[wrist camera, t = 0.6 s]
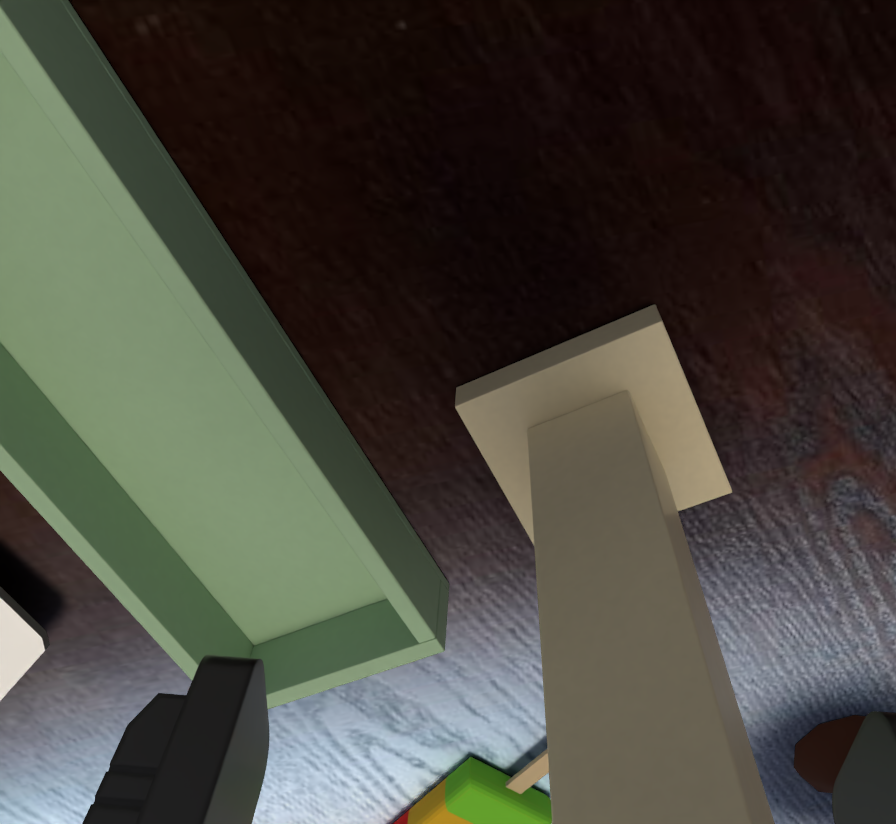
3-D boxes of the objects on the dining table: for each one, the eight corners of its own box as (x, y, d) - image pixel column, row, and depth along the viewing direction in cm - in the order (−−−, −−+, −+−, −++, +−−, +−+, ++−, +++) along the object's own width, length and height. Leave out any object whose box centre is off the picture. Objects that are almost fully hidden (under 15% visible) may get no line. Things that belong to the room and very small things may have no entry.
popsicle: (372, 836, 47) (368, 868, 45) (540, 690, 40) (542, 722, 39) (452, 873, 48) (450, 906, 47) (626, 738, 42) (632, 771, 40)
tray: (-203, 114, 28) (-301, 141, 25) (37, -48, 25) (-35, -43, 22) (252, 653, 40) (229, 722, 36) (449, 584, 37) (445, 651, 34)
